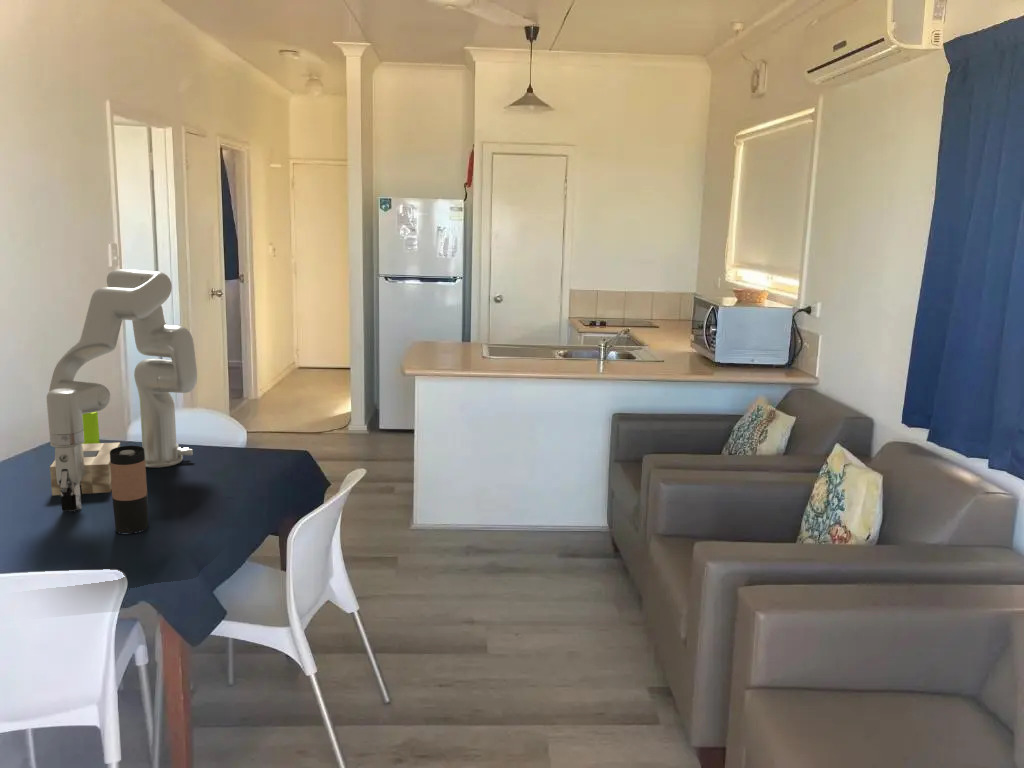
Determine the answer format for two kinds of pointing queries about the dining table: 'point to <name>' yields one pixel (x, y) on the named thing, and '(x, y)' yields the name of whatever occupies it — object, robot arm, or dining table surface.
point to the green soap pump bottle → (91, 428)
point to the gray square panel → (90, 453)
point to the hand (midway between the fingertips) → (72, 504)
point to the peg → (78, 495)
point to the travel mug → (129, 488)
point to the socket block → (91, 470)
